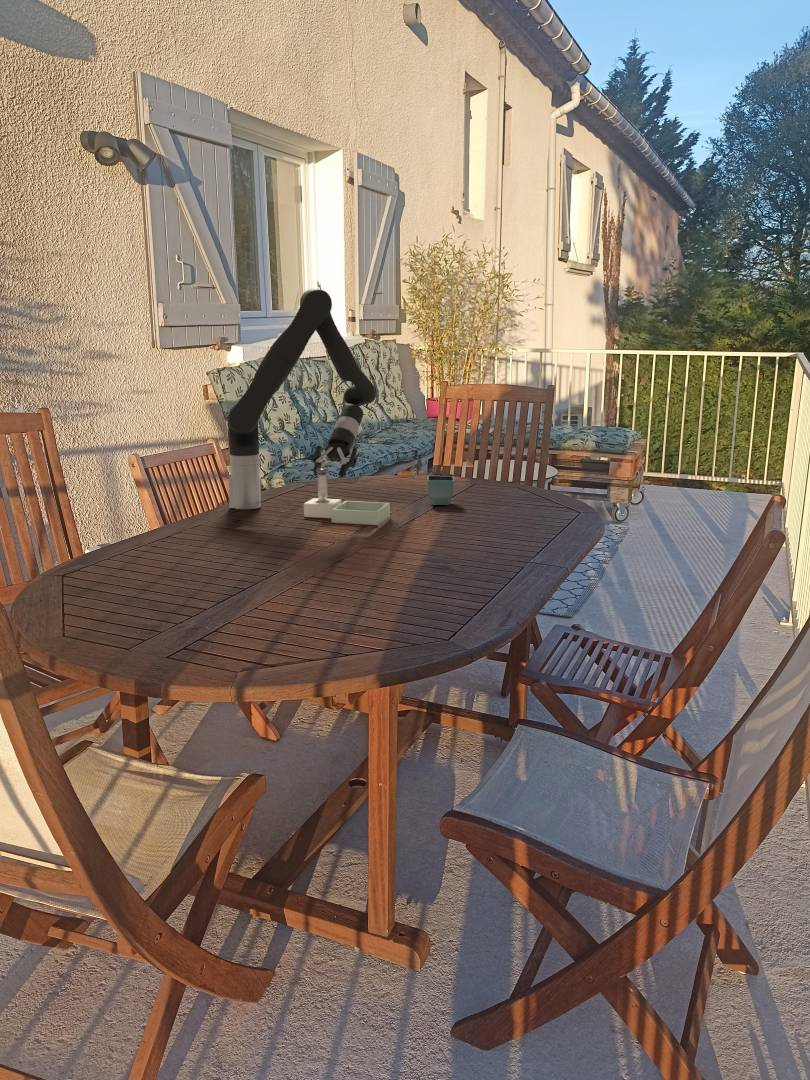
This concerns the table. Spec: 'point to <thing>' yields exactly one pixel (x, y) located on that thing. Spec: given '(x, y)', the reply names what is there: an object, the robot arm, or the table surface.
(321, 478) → the steel pin
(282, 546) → the table surface
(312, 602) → the table surface
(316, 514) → the socket block
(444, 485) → the flower pot
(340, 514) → the tray
